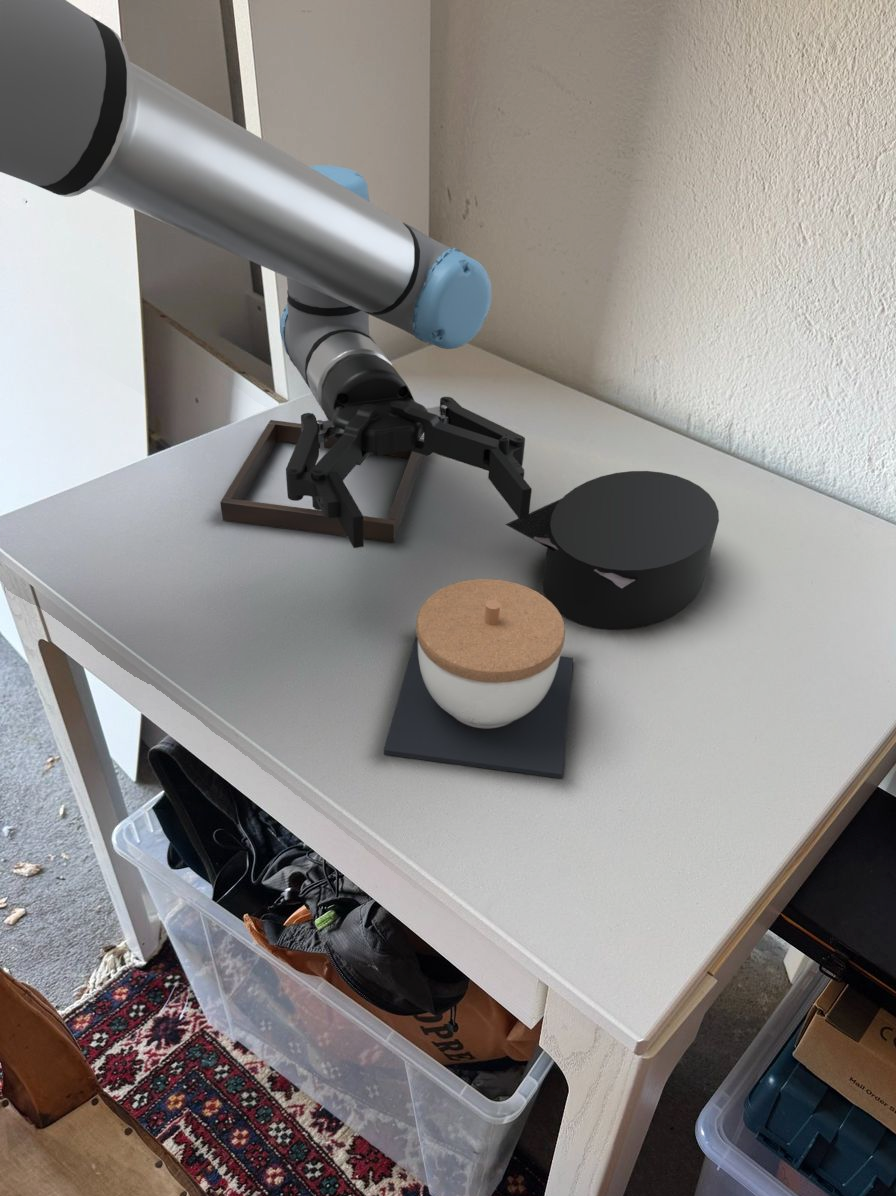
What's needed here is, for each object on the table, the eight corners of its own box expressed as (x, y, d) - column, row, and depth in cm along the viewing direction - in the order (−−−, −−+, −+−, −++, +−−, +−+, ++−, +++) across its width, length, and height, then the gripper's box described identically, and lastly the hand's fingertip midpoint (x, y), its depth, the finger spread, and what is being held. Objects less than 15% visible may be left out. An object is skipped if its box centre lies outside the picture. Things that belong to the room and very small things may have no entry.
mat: (383, 754, 73) (383, 749, 73) (415, 641, 83) (415, 636, 83) (561, 778, 73) (562, 774, 73) (572, 662, 83) (573, 657, 82)
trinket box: (571, 741, 75) (587, 645, 69) (429, 760, 73) (433, 661, 66) (532, 648, 83) (544, 554, 76) (403, 662, 80) (404, 566, 74)
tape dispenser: (736, 579, 95) (756, 509, 90) (622, 653, 84) (638, 577, 79) (614, 518, 102) (627, 450, 97) (494, 579, 91) (502, 505, 86)
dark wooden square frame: (222, 520, 94) (220, 501, 92) (271, 436, 106) (270, 419, 104) (393, 542, 93) (393, 524, 92) (423, 456, 105) (424, 439, 104)
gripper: (485, 414, 98) (583, 532, 84) (224, 448, 89) (285, 587, 75) (490, 339, 93) (596, 452, 79) (215, 367, 84) (278, 500, 70)
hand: (444, 518), depth 77 cm, fingers open, 13 cm apart
